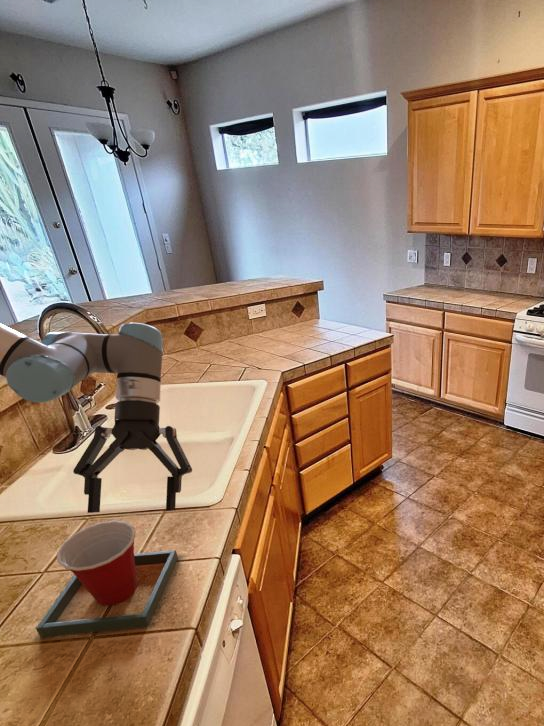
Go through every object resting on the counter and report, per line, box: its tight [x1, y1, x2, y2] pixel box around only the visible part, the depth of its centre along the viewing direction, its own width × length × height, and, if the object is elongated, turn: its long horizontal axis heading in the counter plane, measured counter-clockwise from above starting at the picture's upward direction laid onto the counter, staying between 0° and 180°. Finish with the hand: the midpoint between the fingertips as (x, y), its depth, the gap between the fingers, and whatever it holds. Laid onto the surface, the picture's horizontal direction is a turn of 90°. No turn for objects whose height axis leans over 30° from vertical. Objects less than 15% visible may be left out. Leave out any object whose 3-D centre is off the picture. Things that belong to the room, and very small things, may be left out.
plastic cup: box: [56, 520, 138, 607], centre depth 72 cm, size 11×11×12 cm
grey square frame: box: [35, 549, 179, 638], centre depth 74 cm, size 16×16×3 cm
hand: (132, 511), depth 82 cm, fingers open, 13 cm apart
